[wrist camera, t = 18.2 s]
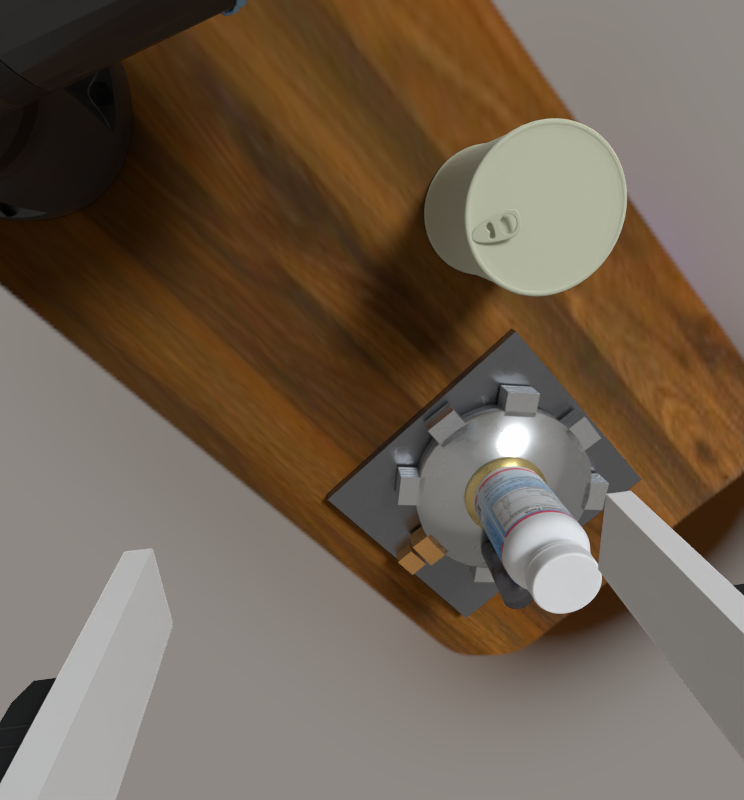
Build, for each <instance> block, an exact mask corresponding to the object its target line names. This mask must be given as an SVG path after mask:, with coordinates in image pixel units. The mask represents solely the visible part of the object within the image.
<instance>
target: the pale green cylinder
mask: <svg viewBox="0 0 744 800" xmlns="http://www.w3.org/2000/svg"><path fill="white" fill-rule="evenodd" d="M626 205H627V188H626V181H625V176H624V172H623V169H622V166H621V164H620V162H619V159H618V158H617V155H616V154H615V152H614V150H613V149H612V147H611V146H610V145H609V144H608V142H607V141H606V140H605V139H604V138H603V137H601V135H600V134H598V133H597V132H596V131H594V130H593V129H591V128H589V127H587V126H586V125H584V124H581V123H578V122H575V121H571V120H567V119H557V118H553V119H542V120H537V121H533V122H530V123H527V124H525V125H522V126H520V127H518V128H516V129H514V130H513V131H511V132H509V133H508V134H506V135H504V136H502V137H500V138H497V139H495V140H493V141H490V142H488V143H484V144H478V145H474V146H470V147H468V148H466V149H463V150H461V151H460V152H458V153H456V154H455V155H453V156H452V157H451V158H450V159H449V160H448V161H446V162H445V163H444V164H443V166H442V167H441V168H440V169H439V171H438V172H437V173H436V175H435V177H434V179H433V180H432V182H431V184H430V187H429V189H428V192H427V196H426V200H425V208H424V220H425V227H426V232H427V235H428V238H429V240H430V243H431V244H432V246H433V248H434V250H435V251H436V253H437V254H438V255H439V256H440V257H441V258H442V259H443V260H444V261H445V262H446V263H447V264H448V265H450V266H451V267H453V268H455V269H457V270H459V271H461V272H464V273H468V274H473V275H478V276H480V277H483V278H485V279H487V280H490V281H492V282H494V283H496V284H497V285H499V286H500V287H502V288H504V289H506V290H508V291H510V292H513V293H516V294H521V295H526V296H546V295H552V294H556V293H559V292H562V291H565V290H567V289H570V288H572V287H574V286H576V285H577V284H579V283H581V282H582V281H583V280H585V279H586V278H588V277H589V276H590V275H591V274H592V273H593V272H595V271H596V270H597V269H598V268H599V266H600V265H601V264H602V263H603V262H604V261H605V259H606V258H607V257H608V255H609V254H610V252H611V251H612V249H613V247H614V245H615V244H616V242H617V239H618V237H619V235H620V232H621V229H622V226H623V223H624V219H625V214H626Z"/></svg>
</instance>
